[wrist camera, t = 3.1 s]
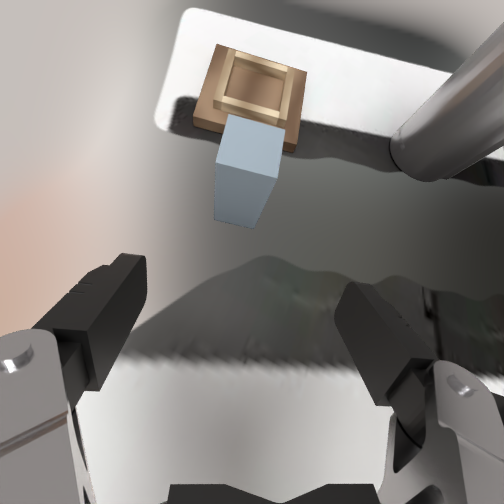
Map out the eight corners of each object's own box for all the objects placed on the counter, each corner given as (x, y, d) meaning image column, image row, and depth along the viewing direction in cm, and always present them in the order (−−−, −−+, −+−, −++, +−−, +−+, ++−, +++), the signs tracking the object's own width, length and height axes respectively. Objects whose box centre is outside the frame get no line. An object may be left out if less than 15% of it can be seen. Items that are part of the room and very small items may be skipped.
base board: (303, 82, 34) (310, 63, 32) (292, 152, 30) (300, 137, 28) (216, 55, 33) (216, 33, 31) (193, 125, 29) (192, 107, 27)
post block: (260, 194, 28) (285, 129, 18) (253, 229, 27) (277, 178, 17) (222, 185, 27) (228, 113, 18) (213, 219, 26) (215, 162, 17)
